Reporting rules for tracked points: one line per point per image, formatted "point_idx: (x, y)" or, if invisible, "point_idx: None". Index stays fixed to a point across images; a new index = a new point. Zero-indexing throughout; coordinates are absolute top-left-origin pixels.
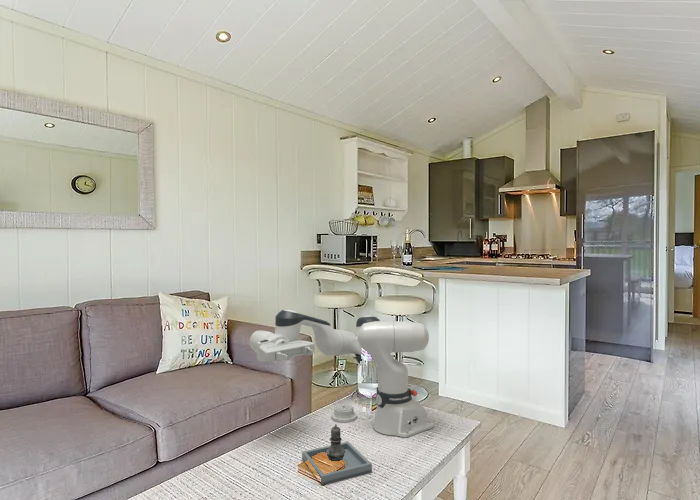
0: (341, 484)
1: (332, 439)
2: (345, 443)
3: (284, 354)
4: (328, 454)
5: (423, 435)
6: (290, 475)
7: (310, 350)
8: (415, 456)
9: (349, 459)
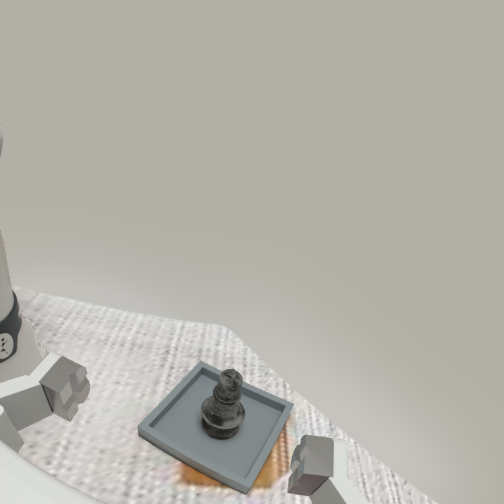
0: None
1: (239, 393)
2: (149, 427)
3: (341, 466)
4: (244, 415)
5: None
6: None
7: (69, 360)
8: (112, 332)
9: (189, 409)
